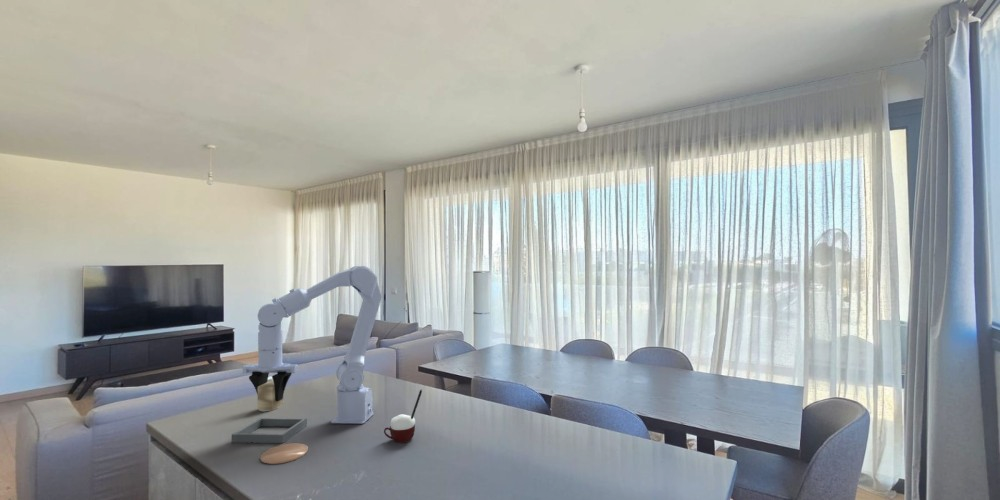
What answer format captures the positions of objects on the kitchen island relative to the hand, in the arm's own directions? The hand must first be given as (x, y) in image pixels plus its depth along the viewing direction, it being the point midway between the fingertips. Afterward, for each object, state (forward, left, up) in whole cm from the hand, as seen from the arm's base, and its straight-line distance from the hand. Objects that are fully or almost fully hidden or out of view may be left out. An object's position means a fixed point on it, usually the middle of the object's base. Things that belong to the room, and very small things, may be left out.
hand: (270, 400), depth 115 cm
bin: (0, 0, -9) cm, 9 cm away
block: (0, 0, -2) cm, 2 cm away
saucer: (-11, +12, -9) cm, 19 cm away
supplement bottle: (+13, -19, -9) cm, 25 cm away
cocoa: (-37, +3, -9) cm, 38 cm away
